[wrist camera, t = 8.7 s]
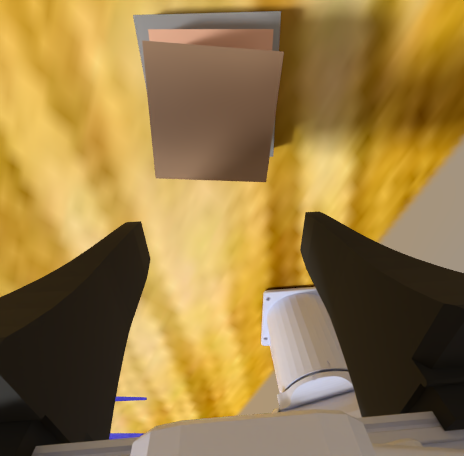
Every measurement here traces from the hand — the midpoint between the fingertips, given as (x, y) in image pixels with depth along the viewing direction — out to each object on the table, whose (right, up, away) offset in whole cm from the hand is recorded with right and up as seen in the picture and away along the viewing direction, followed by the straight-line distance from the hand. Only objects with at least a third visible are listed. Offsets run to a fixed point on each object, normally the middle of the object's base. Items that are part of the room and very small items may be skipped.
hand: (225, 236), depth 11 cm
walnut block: (-1, +7, +3) cm, 8 cm away
